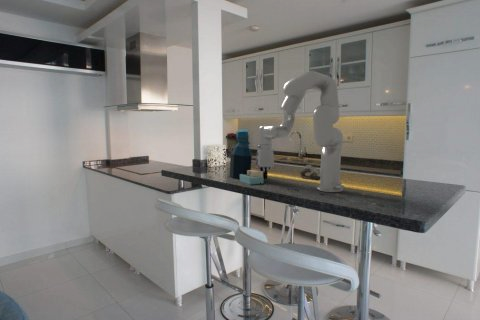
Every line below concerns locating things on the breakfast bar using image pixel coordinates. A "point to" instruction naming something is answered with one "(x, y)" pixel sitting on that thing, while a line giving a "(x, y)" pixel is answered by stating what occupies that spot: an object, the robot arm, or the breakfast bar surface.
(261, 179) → the bay
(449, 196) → the breakfast bar surface
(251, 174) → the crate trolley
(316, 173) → the futuristic pistol
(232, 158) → the dark teal bottle
